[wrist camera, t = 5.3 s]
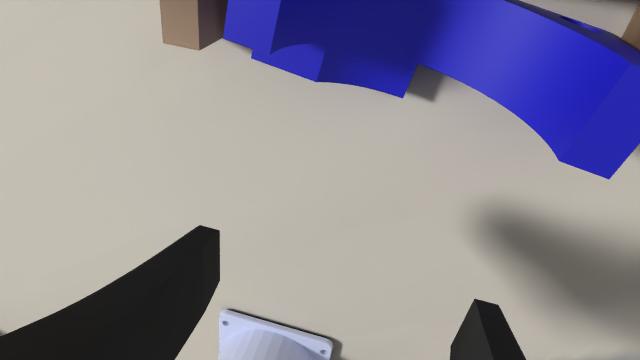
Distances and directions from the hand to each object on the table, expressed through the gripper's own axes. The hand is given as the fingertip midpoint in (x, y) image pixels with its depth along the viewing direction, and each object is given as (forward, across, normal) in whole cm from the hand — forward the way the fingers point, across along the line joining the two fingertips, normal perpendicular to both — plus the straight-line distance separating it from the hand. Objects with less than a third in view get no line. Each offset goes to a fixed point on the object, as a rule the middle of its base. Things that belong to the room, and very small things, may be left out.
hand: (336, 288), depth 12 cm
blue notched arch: (+10, -1, -5) cm, 11 cm away
